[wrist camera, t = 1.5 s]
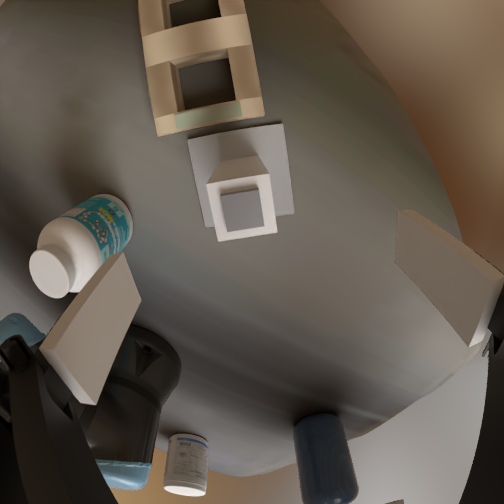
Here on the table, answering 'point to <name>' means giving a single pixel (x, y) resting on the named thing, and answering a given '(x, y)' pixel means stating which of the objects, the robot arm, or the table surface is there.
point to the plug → (241, 199)
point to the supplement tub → (186, 465)
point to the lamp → (325, 461)
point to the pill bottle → (79, 244)
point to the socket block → (195, 52)
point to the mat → (238, 146)
